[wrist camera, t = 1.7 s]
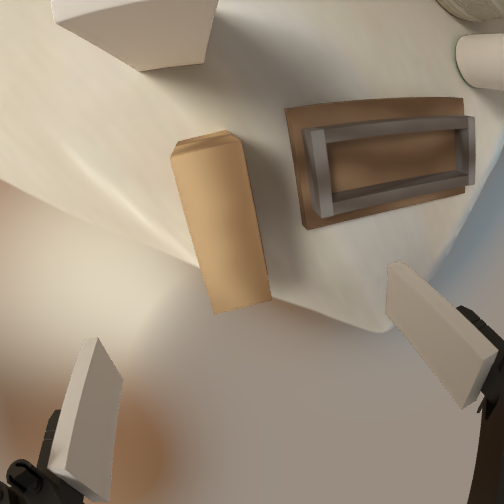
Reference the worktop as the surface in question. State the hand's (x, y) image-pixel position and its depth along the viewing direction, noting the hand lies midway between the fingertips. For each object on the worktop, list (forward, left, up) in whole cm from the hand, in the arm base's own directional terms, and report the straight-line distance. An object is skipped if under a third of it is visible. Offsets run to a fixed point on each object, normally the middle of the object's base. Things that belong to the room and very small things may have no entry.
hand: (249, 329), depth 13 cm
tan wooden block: (0, 0, -19) cm, 19 cm away
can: (-12, +34, -20) cm, 41 cm away
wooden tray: (-1, +19, -19) cm, 27 cm away
